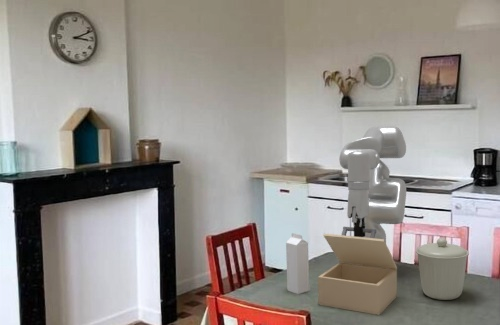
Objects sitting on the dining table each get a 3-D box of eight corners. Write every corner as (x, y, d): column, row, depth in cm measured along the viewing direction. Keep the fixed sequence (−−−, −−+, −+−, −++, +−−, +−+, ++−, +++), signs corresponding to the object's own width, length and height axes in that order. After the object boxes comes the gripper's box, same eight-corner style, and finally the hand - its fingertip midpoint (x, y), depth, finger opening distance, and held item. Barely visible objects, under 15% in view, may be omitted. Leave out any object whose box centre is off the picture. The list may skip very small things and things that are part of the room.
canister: (434, 307, 188) (434, 246, 186) (406, 290, 205) (405, 235, 203) (479, 300, 192) (480, 241, 190) (448, 285, 210) (448, 230, 208)
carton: (340, 287, 211) (339, 262, 210) (397, 296, 199) (396, 269, 198) (318, 304, 194) (317, 276, 193) (379, 314, 182) (378, 285, 181)
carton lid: (339, 262, 210) (344, 247, 213) (396, 269, 198) (400, 253, 202) (323, 235, 196) (328, 219, 199) (383, 241, 185) (387, 224, 188)
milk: (297, 294, 205) (296, 236, 203) (287, 290, 210) (285, 234, 208) (309, 290, 209) (308, 234, 206) (299, 287, 214) (297, 231, 211)
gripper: (356, 182, 203) (357, 231, 205) (340, 188, 190) (341, 240, 192) (376, 183, 199) (377, 233, 201) (361, 189, 186) (361, 242, 188)
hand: (359, 236), depth 196 cm, fingers closed
